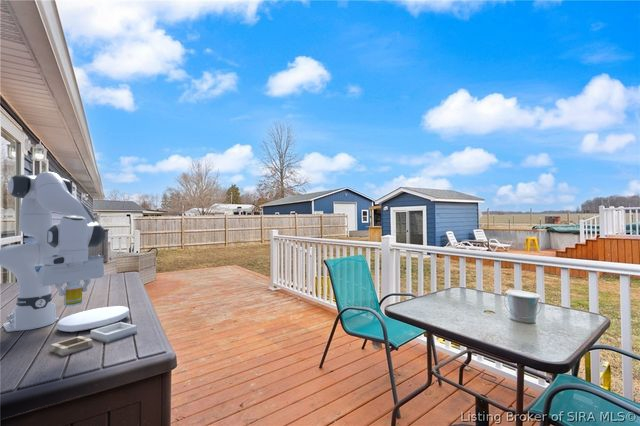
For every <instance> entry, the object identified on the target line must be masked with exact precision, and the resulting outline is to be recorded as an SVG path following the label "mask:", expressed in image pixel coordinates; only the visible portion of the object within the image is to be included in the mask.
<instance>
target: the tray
mask: <svg viewBox="0 0 640 426" xmlns="http://www.w3.org/2000/svg"><path fill="white" fill-rule="evenodd" d="M137 328H138V325H135V324H132V323H131V324H130V323H126V322H123V321H120V322H119V321H118V322H114V323H111V324H108V325H104V326H101V327H97V328H93V329H90V337H89V339H92V340H96V341H100V342H103V343H106V344H107V343H109V342H110V343H111V342H113V341H116V340H118V339H123V338H125V337H128V336H131V335H134V334H136V333H138V331H137V330H138V329H137Z"/></svg>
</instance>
